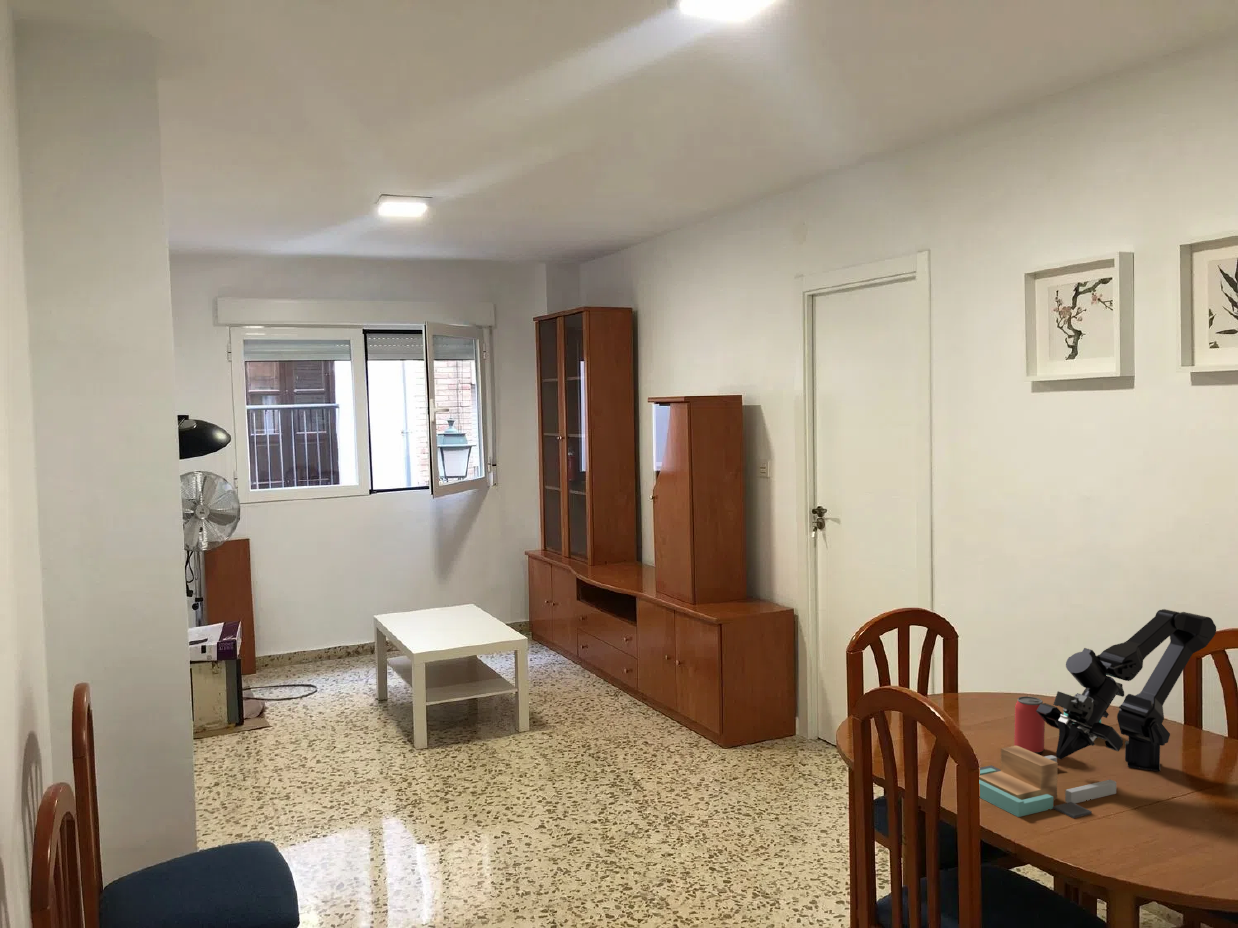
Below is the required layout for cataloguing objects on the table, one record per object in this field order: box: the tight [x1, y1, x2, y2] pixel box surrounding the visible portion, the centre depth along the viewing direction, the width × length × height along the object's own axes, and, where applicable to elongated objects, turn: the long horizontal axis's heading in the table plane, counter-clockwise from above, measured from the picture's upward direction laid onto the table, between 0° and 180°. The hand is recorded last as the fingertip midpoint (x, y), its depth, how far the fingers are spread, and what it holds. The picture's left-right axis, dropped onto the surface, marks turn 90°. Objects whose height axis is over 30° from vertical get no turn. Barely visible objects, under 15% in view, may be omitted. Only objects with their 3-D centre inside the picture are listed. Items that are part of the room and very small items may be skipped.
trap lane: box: [979, 754, 1117, 819], centre depth 208 cm, size 28×27×3 cm
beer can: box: [1013, 695, 1046, 754], centre depth 231 cm, size 7×7×12 cm
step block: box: [979, 745, 1059, 801], centre depth 205 cm, size 11×11×8 cm
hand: (1058, 757), depth 210 cm, fingers closed
